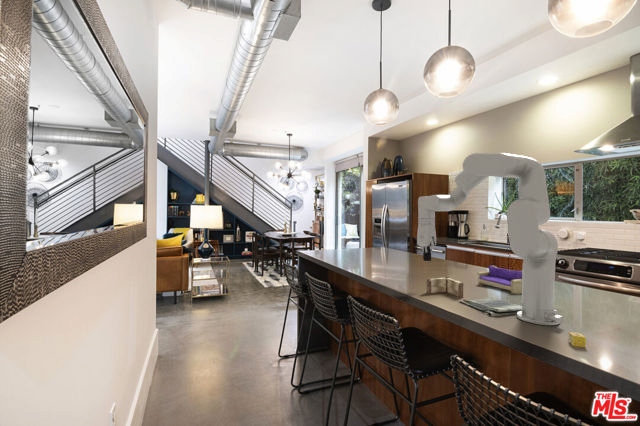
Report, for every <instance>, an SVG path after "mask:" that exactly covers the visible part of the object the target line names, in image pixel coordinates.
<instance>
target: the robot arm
mask: <svg viewBox="0 0 640 426" xmlns="http://www.w3.org/2000/svg"><path fill="white" fill-rule="evenodd" d="M462 169H463V170H462V171H461V172H460V173H459V174H457V175H456V176H455V178H454V182H455V184H456V187H455V188H454V189H453V190H452V191H451V192H449V194H432V195H425V196H424V195H423V196H419V197H418V199H417V205H418V206H417V209H418V210H417V211H418V215H417V216H418V217H417V219H418V222H417V223H418V224H417V225H418V227H417V236H416V244H417V246H420V248H421V250H422V253H423V254H422V255H423V257H422V259H423V262H431V261H432V251H433V250H434V249H435V246H436V245H437V232H436V212H451V211H453V210H455V209H457V208H458V207H459V206H460V205H461V206H462V204H463V203H464V202H465V201H466V200H467V199H468V197H469V196H470V193H471V191H472V190H474V189H475V188H476V187H478V186H479V185H480V184H481V183H482V182H484V181H485V180H487V178H489V177H494V178H495V177H497V178H509V179H518V180H519V182H518V186H517V188H518V189H517V190H518V191H517V192H518V196H519V197H518V198H517V199H515V200H514V201H513V202H511V203H510V205H509V206H508V207H507V212H506V222H507V223H506V224H507V232H508V239H509V241H508V242H509V246H510V249H511V250H512V252H513V254H514V255H516V256H517V257H519V258H520V259H521V258H522V259H523V262H522V268H521V269H522V270H521V271H522V293H521V306H522V311H519V312H517V314H516V317H517V319H519V320H521V321H524V322H527V323H531V324H536V325H540V326H541V325H542V326H557V325H559V324H561V323H562V321H564V319H565V318H564V317H563V316H562V315H558V310H557V309H555V292H556V291H555V289H556V287H555V286H556V285H555V283H556V279H555V278H556V263H557V262H556V261H557V256H558V251H559V249H558V248H559V243H558V240H557V238H556V236H555V234H553V233H552V232H550V231H549V230H545V229H541V228H539V227H540V226H541V225H544V224H546V223H547V222H548V221H549V220H550V218H551V209H550V201H549V192H548V187H547V177H546V172H545V168H544V166H543V165H542V163H540V161H539V160H538V159H537V160H536V159H535V158H532V157H528V156H525V155H518V154H511V153H506V152H497V153H496V152H492V153H491V152H490V153H489V152H488V153H487V152H480V153H478V152H475V153H471V154H469V155H467V156H466V157H465V158H464V160H463V162H462Z"/></svg>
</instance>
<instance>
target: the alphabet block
mask: <svg viewBox="0 0 640 426" xmlns="http://www.w3.org/2000/svg"><path fill="white" fill-rule="evenodd" d="M567 336H568V337H567V339H568V343H569V344H570V345H571V346H573V347H578V348H586V343H587V342H586V340H587V337H586V336H584V335H583V334H582V333H580V332H573V331H571V332H570V331H569V332H568V335H567Z"/></svg>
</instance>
